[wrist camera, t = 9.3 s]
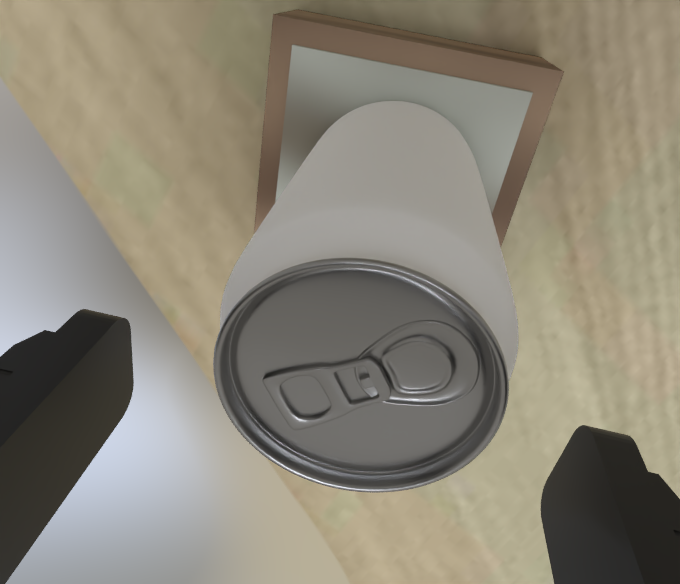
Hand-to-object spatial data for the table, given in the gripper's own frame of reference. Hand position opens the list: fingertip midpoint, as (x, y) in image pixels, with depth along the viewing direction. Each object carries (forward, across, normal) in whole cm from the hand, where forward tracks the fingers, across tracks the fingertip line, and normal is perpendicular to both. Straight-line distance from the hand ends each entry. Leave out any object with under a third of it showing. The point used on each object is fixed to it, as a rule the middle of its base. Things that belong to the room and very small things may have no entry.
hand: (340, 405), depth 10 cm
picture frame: (+17, 0, 0) cm, 17 cm away
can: (+13, 0, 0) cm, 13 cm away
